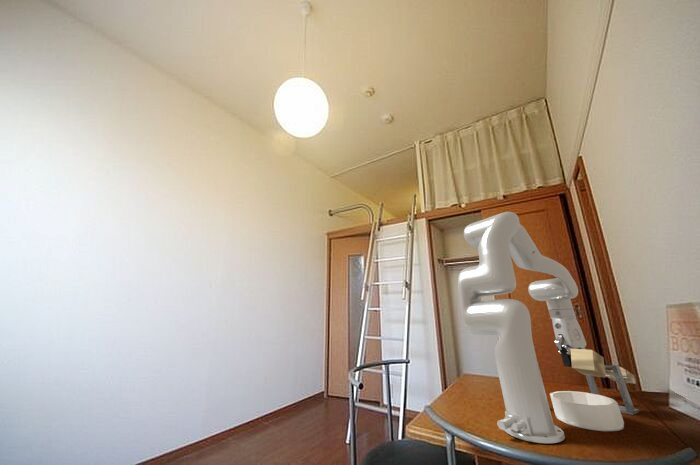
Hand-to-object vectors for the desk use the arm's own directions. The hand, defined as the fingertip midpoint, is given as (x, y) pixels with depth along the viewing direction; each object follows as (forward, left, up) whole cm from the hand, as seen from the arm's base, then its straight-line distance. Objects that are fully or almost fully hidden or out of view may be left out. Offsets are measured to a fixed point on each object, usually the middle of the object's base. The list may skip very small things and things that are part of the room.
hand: (577, 365), depth 90 cm
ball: (+2, -10, -1) cm, 11 cm away
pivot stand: (-9, -10, -9) cm, 17 cm away
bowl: (-25, -10, -9) cm, 29 cm away
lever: (-9, -7, -3) cm, 12 cm away
